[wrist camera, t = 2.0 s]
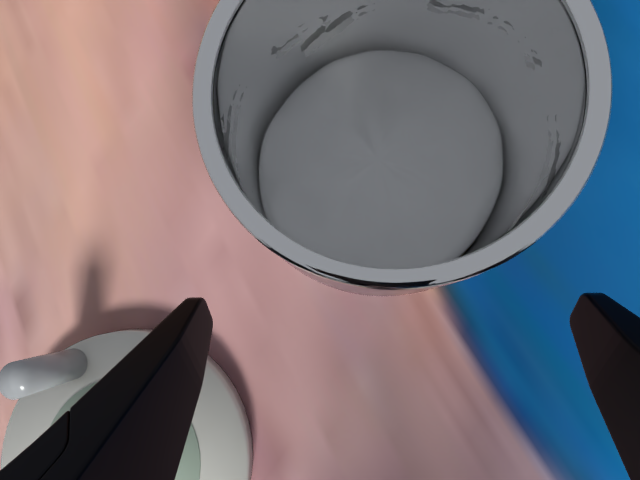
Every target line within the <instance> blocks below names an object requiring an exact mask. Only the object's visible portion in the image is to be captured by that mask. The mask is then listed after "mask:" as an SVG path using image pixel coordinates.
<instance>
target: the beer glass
mask: <svg viewBox="0 0 640 480" xmlns="http://www.w3.org/2000/svg"><path fill="white" fill-rule="evenodd" d="M612 91H613V85H612V67H611V60H610V54H609V49H608V44H607V40H606V36H605V33H604V30H603V27H602V24H601V21H600V19H599V16H598V14H597V12H596V10H595V7H594V5H593V3H592V1H591V0H219V2H218V4H217V5H216V7H215V9H214V11H213V13H212V15H211V17H210V19H209V22H208V24H207V26H206V29H205V31H204V34H203V37H202V40H201V43H200V46H199V50H198V54H197V58H196V63H195V68H194V75H193V86H192V111H193V121H194V128H195V134H196V138H197V143H198V147H199V150H200V153H201V157H202V160H203V162H204V165H205V167H206V170H207V172H208V174H209V177H210V179H211V181H212V183H213V185H214V187H215V188H216V190H217V192H218V194H219V195H220V197H221V198H222V200H223V202H224V203H225V204H226V206H227V207H228V209H229V210H230V211H231V213H232V214H233V215H234V216H235V218H236V219H237V220H238V221H239V222H240V223H241V225H242V226H243V227H244V228H245V229H246V230H247V231H248V232H249V233H250V234H251V235H252V236H254V237H255V238H256V239H257V240H258V241H259V242H260V243H262V244H263V245H264V246H265V247H267V248H268V249H269V250H271V251H272V252H273V253H275V254H276V255H278V256H279V257H281V258H282V259H284V260H285V261H286V262H287V263H288V264H290V265H291V266H292V267H294V268H295V269H297V270H298V271H300V272H301V273H303V274H304V275H306V276H308V277H310V278H311V279H313V280H315V281H317V282H319V283H322V284H324V285H326V286H329V287H332V288H335V289H338V290H341V291H345V292H349V293H353V294H359V295H367V296H400V295H408V294H414V293H419V292H423V291H426V290H430V289H433V288H436V287H439V286H444V285H448V284H452V283H456V282H460V281H463V280H466V279H469V278H472V277H475V276H477V275H480V274H482V273H485V272H487V271H489V270H491V269H493V268H496V267H497V266H499V265H501V264H503V263H505V262H507V261H509V260H510V259H512V258H514V257H515V256H517V255H518V254H520V253H521V252H523V251H524V250H526V249H527V248H528V247H530V246H531V245H532V244H534V243H535V242H536V241H537V240H539V239H540V238H541V237H542V236H543V235H544V234H546V233H547V232H548V231H549V230H550V229H551V228H552V227H553V226H554V225H555V224H556V223H557V222H558V221H559V220H560V219H561V217H562V216H563V215H564V214H565V213H566V212H567V211H568V209H569V208H570V207H571V206H572V204H573V203H574V202H575V200H576V199H577V197H578V196H579V194H580V193H581V191H582V190H583V188H584V186H585V185H586V183H587V181H588V180H589V178H590V176H591V174H592V172H593V170H594V168H595V166H596V163H597V161H598V159H599V156H600V153H601V151H602V148H603V145H604V142H605V138H606V134H607V130H608V126H609V121H610V114H611V107H612Z"/></svg>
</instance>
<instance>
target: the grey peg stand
mask: <svg viewBox="0 0 640 480" xmlns="http://www.w3.org/2000/svg"><path fill="white" fill-rule="evenodd" d="M151 331H152V330H148V329H130V330H121V331H116V332H111V333H106V334H101V335H97V336H93V337H90V338H88V339H85V340H82V341H80V342H78V343H76V344H74V345H72V346H70V347H68V348H66V349H65V350H63V351H58V352H54V353H50V354H45V355H41V356H37V357H32V358H28V359H23V360H19V361H15V362H11V363H9V364H7V365H6V366H4V367H3V369H2V370H1V372H0V392H1V393H2V395H3V396H5V397H6V398H8V399H12V400H16V399H19V400H18V402H17V404H16V406H15V408H14V410H13V412H12V415H11V418H10V420H9V423H8V426H7V430H6V434H5V438H4V442H3V449H2V456H1V469H3V468H4V467H5V466H6V465H7V464H8V463H10V462H11V461H12V460H13V459H14V458H15V457H17V456H18V455H19V454H20V453H21V452H22V451H24V450H25V449H26V448H27V447H28V446H29V445H31V444H32V443H33V442H34V441H35V440H36V439H37V438H38V437H39V436H40V435H42V434H43V433H44V432H45V431H46V430H47V429H48V428H49V427H50V426H51V425H53V424H54V423H55V422H56V421H57V420H58V419H59V418H60V417H61V416H62V415H63V414H64V413H65V412H66V411H70V408H71V407H72V406H73V405H74V404H75V403H76V402H77V401H78V400H79V399H80V398H81V397H82V396H83V395H84V394H86V393H87V392H88V391H89V390H90V389H91V388H92V387H93V386H94V385H95V384H96V383H97V382H98V381H99V380H100V379H101V378H103V377H104V376H105V375H106V374H107V373H108V372H109V371H110V370H111V369H112V368H113V367H114V366H115V365H116V364H117V363H118V362H119V361H121V360H122V359H123V358H124V357H125V356H126V355H127V354H128V353H129V352H130V351H131V350H132V349H133V348H134V347H135V346H136V345H137V344H139V343H140V342H141V341H142V340H143V339H144V338H145V337H146V336H147V335H148V334H149V333H150V332H151ZM252 462H253V449H252V437H251V431H250V426H249V421H248V418H247V414H246V411H245V408H244V405H243V403H242V401H241V399H240V396H239V394H238V392H237V390H236V388H235V387H234V385H233V384H232V382H231V380H230V379H229V377H228V376H227V375H226V373H225V372H224V371H223V370H222V368H221V367H220V366H219V365H218V364H217V363H216V362H215V361H214V360H213V359H212V358H211V357H210V356H209V355H208V357H207V363H206V368H205V374H204V379H203V384H202V388H201V392H200V395H199V398H198V402H197V405H196V409H195V412H194V416H193V419H192V422H191V426H190V429H189V433H188V436H187V440H186V443H185V446H184V450H183V453H182V457H181V460H180V464H179V467H178V470H177V474H176V477H175V480H251V475H252Z"/></svg>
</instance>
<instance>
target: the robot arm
mask: <svg viewBox="0 0 640 480" xmlns="http://www.w3.org/2000/svg"><path fill="white" fill-rule="evenodd" d="M570 326H571V330H572V333H573V336H574V339H575V343H576V346H577V349H578V352H579V355H580V358H581V362H582V365H583V368H584V371H585V374H586V378H587V380H588V383H589V386H590V389H591V391H592V393H593V396H594V398H595V400H596V403H597V405H598V407H599V409H600V412H601V414H602V416H603V419H604V421H605V423H606V425H607V428H608V430H609V432H610V434H611V437H612V439H613V441H614V443H615V446H616V448H617V450H618V452H619V455H620V457H621V459H622V461H623V464H624V466H625V468H626V470H627V473H628V475H629V477H630V480H640V318H639V317H638V316H637V315H635V314H634V313H632V312H631V311H629V310H628V309H626V308H625V307H623V306H622V305H620V304H619V303H617V302H616V301H614V300H613V299H611V298H610V297H608V296H607V295H605V294H603V293H584V294H582V295H581V296H580V297H579V299H578V301H577V303H576V305H575V307H574V309H573V311H572V313H571V316H570ZM212 328H213V320H212V316H211V314H210V311H209V309H208V306H207V303H206V301H205V300H204V299H203V298H187V299H185V300H184V301H183V302H182V303H181V304H180V305H179V306H178V307H177V308H176V309H175V310H174V311H172V312H171V313H170V314H169V315H168V316H167V317H166V318H165V319H164V320H163V321H162V322H161V323H160V324H159V325H158V326H157V327H155V328H154V329H153V330H152V331H151V332H150V333H149V334H148V335H147V336H146V337H145V338H144V339H143V340H142V341H141V342H140V343H139V344H137V345H136V346H135V347H134V348H133V349H132V350H131V351H130V352H129V353H128V354H127V355H126V356H125V357H124V358H123V359H122V360H121V361H119V362H118V363H117V364H116V365H115V366H114V367H113V368H112V369H111V370H110V371H109V372H108V373H107V374H106V375H105V376H104V377H103V378H101V379H100V380H99V381H98V382H97V383H96V384H95V385H94V386H93V387H92V388H91V389H90V390H89V391H88V392H87V393H86V394H84V395H83V396H82V397H81V398H80V399H79V400H78V401H77V402H76V403H75V404H74V405H73V406H72V407H71V408H70V411H66V412H65V413H64V414H63V415H62V416H61V417H60V418H59V419H58V420H57V421H56V422H55V423H54V424H53V425H51V426H50V427H49V428H48V429H47V430H46V431H45V432H44V433H43V434H42V435H40V436H39V437H38V438H37V439H36V440H35V441H34V442H33V443H32V444H31V445H29V446H28V447H27V448H26V449H25V450H24V451H22V452H21V453H20V454H19V455H18V456H17V457H15V458H14V459H13V460H12V461H11V462H10V463H8V464H7V465H6V466H5V467H4V468H3V469H1V470H0V480H175V477H176V474H177V470H178V467H179V464H180V460H181V457H182V453H183V450H184V446H185V443H186V440H187V436H188V433H189V429H190V426H191V422H192V419H193V416H194V412H195V409H196V405H197V402H198V398H199V395H200V392H201V388H202V384H203V379H204V374H205V368H206V363H207V357H208V351H209V345H210V340H211V334H212Z"/></svg>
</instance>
